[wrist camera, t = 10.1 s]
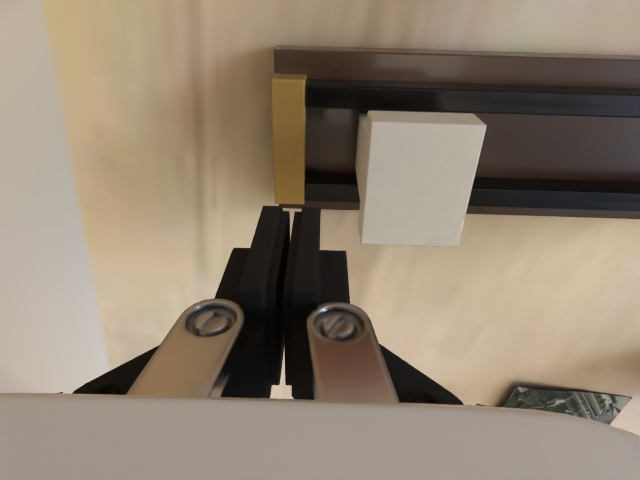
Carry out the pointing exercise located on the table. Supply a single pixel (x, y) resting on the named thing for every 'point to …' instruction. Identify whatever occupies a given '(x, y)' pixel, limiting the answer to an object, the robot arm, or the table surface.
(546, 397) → the eiffel tower figurine
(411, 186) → the white boxy piece
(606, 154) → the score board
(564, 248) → the table surface
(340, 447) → the robot arm
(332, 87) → the rails
